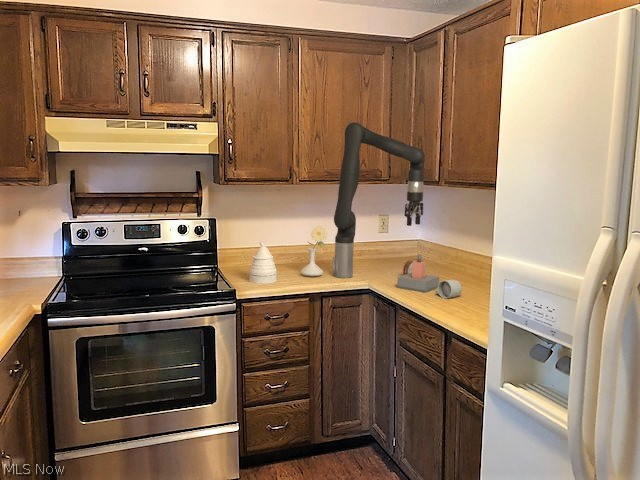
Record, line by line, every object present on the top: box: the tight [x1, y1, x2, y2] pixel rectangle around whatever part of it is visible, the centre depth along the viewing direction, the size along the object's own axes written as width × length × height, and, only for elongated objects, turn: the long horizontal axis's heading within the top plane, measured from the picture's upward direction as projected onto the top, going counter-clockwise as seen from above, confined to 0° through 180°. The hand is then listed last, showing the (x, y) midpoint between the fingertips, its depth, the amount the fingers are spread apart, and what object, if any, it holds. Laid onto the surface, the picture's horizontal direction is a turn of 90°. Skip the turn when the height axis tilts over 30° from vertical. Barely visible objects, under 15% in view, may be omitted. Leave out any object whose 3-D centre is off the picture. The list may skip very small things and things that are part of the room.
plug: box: [412, 254, 427, 279], centre depth 244 cm, size 4×4×14 cm
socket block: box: [396, 273, 440, 294], centre depth 245 cm, size 14×14×5 cm
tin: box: [402, 258, 417, 275], centre depth 271 cm, size 15×3×8 cm, turn 141°
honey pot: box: [249, 241, 278, 285], centre depth 253 cm, size 13×13×18 cm
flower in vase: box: [300, 226, 328, 277], centre depth 266 cm, size 13×11×25 cm
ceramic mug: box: [435, 279, 463, 299], centre depth 230 cm, size 11×8×8 cm
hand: (413, 225), depth 256 cm, fingers open, 8 cm apart
